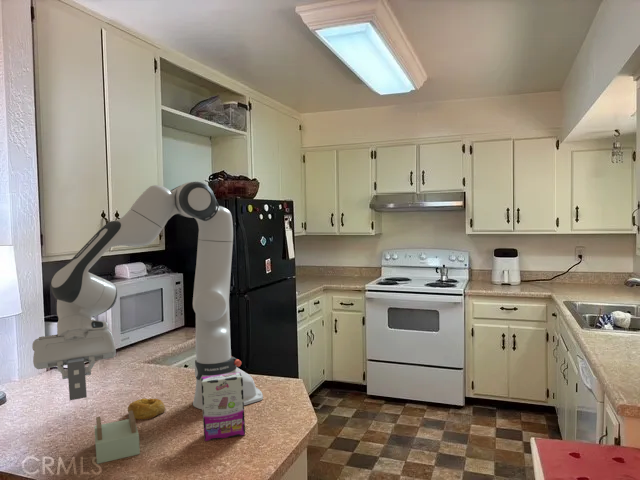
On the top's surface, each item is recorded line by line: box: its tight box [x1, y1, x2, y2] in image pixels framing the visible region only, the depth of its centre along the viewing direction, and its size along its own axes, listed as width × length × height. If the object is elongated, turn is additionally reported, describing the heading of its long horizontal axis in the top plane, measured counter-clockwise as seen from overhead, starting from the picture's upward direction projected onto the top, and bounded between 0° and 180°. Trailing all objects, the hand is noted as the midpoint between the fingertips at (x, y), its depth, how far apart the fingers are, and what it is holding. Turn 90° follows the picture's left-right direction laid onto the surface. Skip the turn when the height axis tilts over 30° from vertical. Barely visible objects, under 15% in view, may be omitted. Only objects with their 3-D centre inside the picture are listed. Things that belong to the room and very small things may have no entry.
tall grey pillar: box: [66, 357, 88, 401], centre depth 129 cm, size 4×4×10 cm
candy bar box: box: [201, 372, 246, 442], centre depth 133 cm, size 11×5×16 cm, turn 106°
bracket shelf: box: [94, 410, 141, 465], centre depth 126 cm, size 10×12×8 cm
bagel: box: [127, 398, 166, 421], centre depth 149 cm, size 10×11×5 cm
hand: (76, 376), depth 129 cm, fingers closed on tall grey pillar, 4 cm apart
